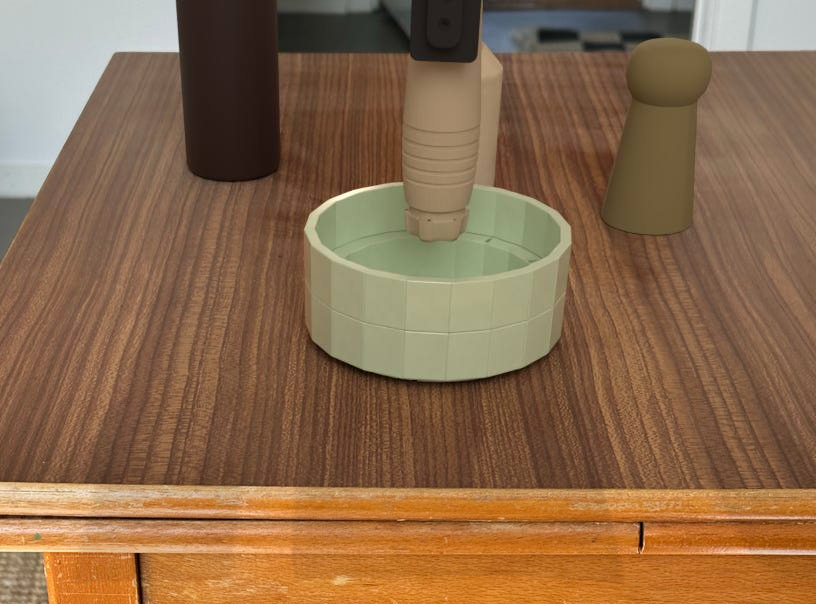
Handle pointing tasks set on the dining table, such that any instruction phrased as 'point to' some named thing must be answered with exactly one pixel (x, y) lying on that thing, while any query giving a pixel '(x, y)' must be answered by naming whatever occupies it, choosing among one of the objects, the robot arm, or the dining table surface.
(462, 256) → the bowl
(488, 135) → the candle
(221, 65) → the bottle
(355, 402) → the dining table surface
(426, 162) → the handle
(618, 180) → the olive brown knobbed cone
